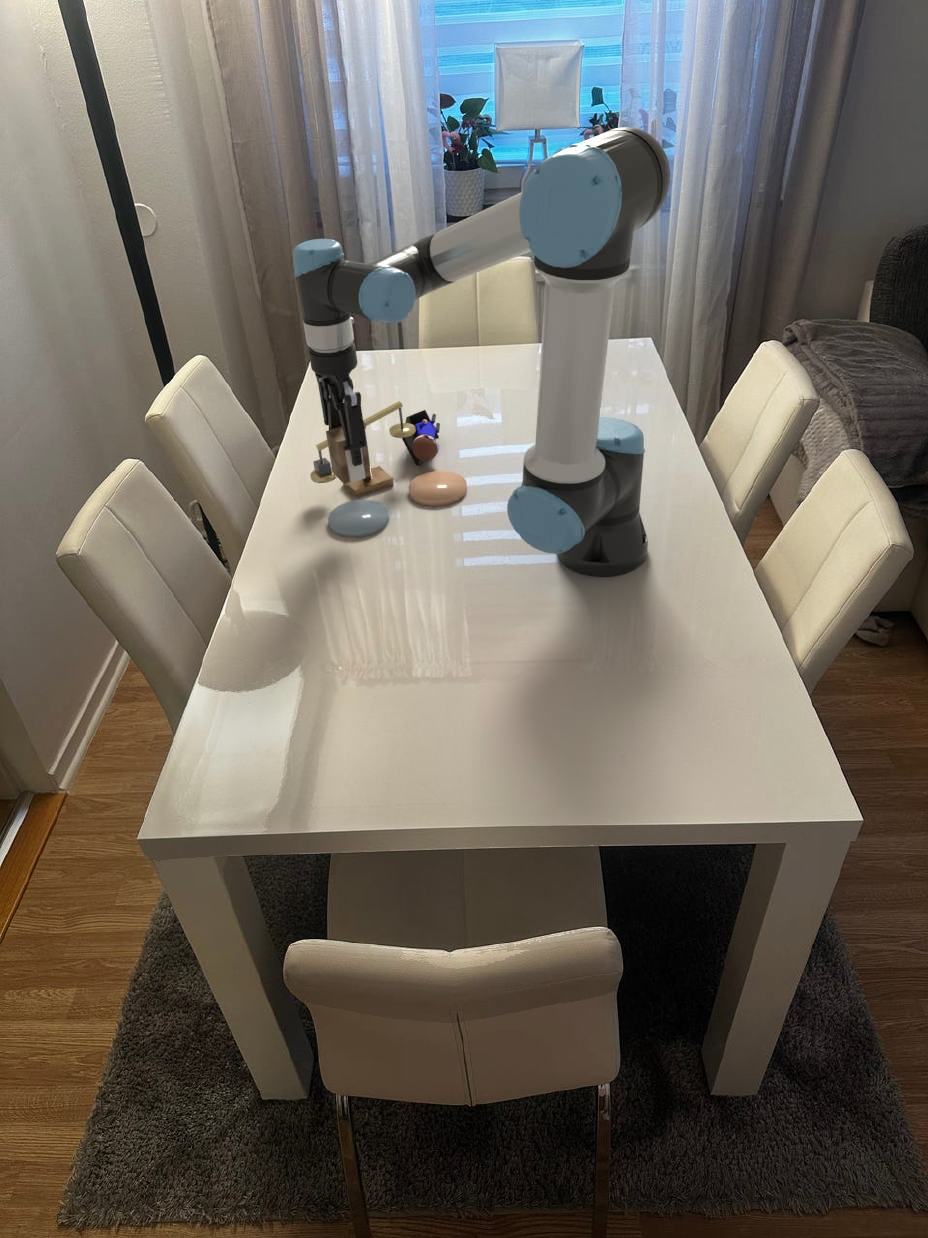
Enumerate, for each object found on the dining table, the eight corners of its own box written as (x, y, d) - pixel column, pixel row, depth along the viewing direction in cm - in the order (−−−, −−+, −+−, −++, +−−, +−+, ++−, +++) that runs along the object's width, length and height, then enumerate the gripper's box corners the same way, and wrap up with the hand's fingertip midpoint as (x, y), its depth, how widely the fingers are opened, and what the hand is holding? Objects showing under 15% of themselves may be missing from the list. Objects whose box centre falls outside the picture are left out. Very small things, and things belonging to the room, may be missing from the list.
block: (370, 475, 156) (364, 434, 151) (343, 484, 154) (337, 442, 149) (358, 464, 159) (352, 423, 154) (332, 472, 158) (325, 431, 153)
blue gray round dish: (399, 524, 161) (398, 519, 160) (343, 544, 157) (342, 538, 156) (373, 499, 168) (372, 493, 168) (319, 517, 165) (318, 511, 164)
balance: (425, 474, 175) (418, 404, 165) (322, 508, 167) (308, 437, 158) (411, 462, 179) (403, 393, 170) (310, 495, 171) (296, 424, 162)
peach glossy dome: (477, 494, 168) (477, 488, 167) (426, 512, 164) (425, 506, 163) (449, 470, 175) (448, 465, 174) (399, 487, 171) (398, 481, 171)
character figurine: (443, 436, 187) (436, 472, 176) (409, 435, 188) (400, 471, 176) (443, 402, 183) (436, 437, 171) (408, 400, 183) (399, 435, 171)
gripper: (376, 356, 137) (392, 487, 152) (330, 322, 150) (349, 446, 164) (331, 368, 134) (352, 501, 149) (288, 332, 147) (311, 458, 161)
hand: (350, 472), depth 157 cm, fingers closed on block, 5 cm apart
